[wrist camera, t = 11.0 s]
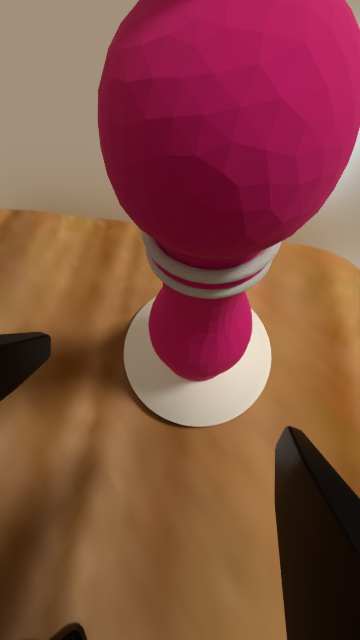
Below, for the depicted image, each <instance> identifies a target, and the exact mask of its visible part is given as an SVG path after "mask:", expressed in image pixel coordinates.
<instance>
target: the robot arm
mask: <svg viewBox="0 0 360 640" xmlns="http://www.w3.org/2000/svg"><path fill="white" fill-rule="evenodd" d="M50 353H51V337H50V336H49V335H47V334H45V333H42V332H29V333H15V334H2V335H0V401H1V400H3V399H4V398H5V397H6V396H8V395H9V394H10V393H11V392H13V391H14V390H15V389H16V388H17V387H19V386H20V385H21V384H22V383H23V382H24V381H25V380H26V379H27V378H28V377H29V376H31V375H32V374H33V373H34V372H35V371H36V370H37V369H38V368H39V367H40V366H41V365H42V364H43V363H45V362H46V361H47V360H48V358H49V357H50ZM275 513H276V524H277V534H278V545H279V556H280V567H281V578H282V589H283V600H284V611H285V622H286V632H287V640H360V499H359V497H358V496H357V495H356V494H355V493H354V491H353V490H352V489H351V488H350V487H349V486H348V484H347V483H346V482H345V481H344V480H343V479H342V477H341V476H340V475H339V474H338V473H337V472H336V470H335V469H334V468H333V467H332V466H331V465H330V463H329V462H328V461H327V460H326V459H325V458H324V456H323V455H322V454H321V453H320V452H319V450H318V449H317V448H316V447H315V446H314V445H313V443H312V442H311V441H310V440H309V439H308V438H307V436H306V435H305V434H304V433H303V432H302V431H301V430H299V429H297V428H294V427H291V426H287V427H286V428H285V429H284V431H283V433H282V435H281V437H280V438H279V440H278V442H277V445H276V449H275ZM73 636H75V637H76V638H77V640H87V638H86V635H85V632H84V629H83V628H82V626H80V625H75V626H73V627H72V628H71V629H69V630H68V631H67V632H66V633H65V634H64V635H63V636H61V637H60V638H59V639H58V640H72V637H73Z"/></svg>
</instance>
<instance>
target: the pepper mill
mask: <svg viewBox="0 0 360 640" xmlns="http://www.w3.org/2000/svg"><path fill="white" fill-rule="evenodd" d="M98 128H99V137H100V146H101V151H102V155H103V159H104V163H105V167H106V171H107V175H108V177H109V180H110V182H111V184H112V187H113V189H114V191H115V194H116V196H117V198H118V200H119V203H120V205H121V206H122V208H123V209H124V210H125V212H126V213H127V214H128V215H129V217H130V218H131V219H132V220H133V221H134V222H135V224H136V225H137V226H138V227H139V228H140V229H141V230H142V238H143V243H144V245H145V247H146V255H147V259H148V261H149V264H150V266H151V268H152V270H153V271H154V273H155V274H156V275H157V277H158V278H159V279H160V280H161V281H163V287H162V289H161V290H160V292H159V293H158V295H157V297H156V298H155V300H154V302H153V304H152V308H151V311H150V315H149V322H148V327H149V335H150V340H151V343H152V346H153V348H154V350H155V352H156V354H157V355H158V357H159V358H160V359H161V360H162V361H163V362H164V363H165V364H166V365H167V366H168V367H169V368H170V369H171V370H172V371H173V372H174V373H175V374H177V375H178V376H180V377H182V378H184V379H187V380H190V381H206V380H209V379H212V378H214V377H216V376H218V375H219V374H221V373H224V372H226V371H227V370H229V369H230V368H232V367H233V366H234V365H235V364H236V363H237V362H238V361H239V360H240V359H241V358H242V356H243V355H244V353H245V351H246V349H247V347H248V344H249V342H250V339H251V334H252V312H251V307H250V304H249V301H248V299H247V296H246V293H245V291H246V290H248V289H249V288H251V287H252V286H254V285H255V284H257V283H258V282H259V281H260V280H261V279H262V278H263V277H264V275H265V274H266V273H267V271H268V269H269V268H270V266H271V263H272V260H273V258H274V257H275V255H276V253H277V252H278V250H279V248H280V245H281V242H282V241H283V240H284V239H286V238H288V237H290V236H292V235H293V234H294V233H295V232H296V231H297V230H298V229H299V228H301V227H302V226H303V225H304V224H305V223H306V222H307V221H308V220H309V219H311V218H312V217H313V216H314V215H315V214H316V213H317V212H318V211H319V210H320V208H321V207H322V206H323V204H324V203H325V201H326V200H327V198H328V197H329V196H330V194H331V193H332V191H333V190H334V188H335V186H336V184H337V183H338V180H339V179H340V177H341V175H342V173H343V171H344V169H345V167H346V166H347V164H348V162H349V159H350V156H351V154H352V151H353V148H354V145H355V142H356V139H357V135H358V131H359V128H360V29H359V26H358V24H357V22H356V19H355V17H354V14H353V12H352V10H351V8H350V7H349V5H348V4H347V3H346V1H345V0H139V1H138V3H137V4H136V5H135V6H134V8H133V9H132V10H131V11H130V12H129V14H128V15H127V16H126V18H125V19H124V20H123V21H122V22H121V24H120V26H119V28H118V30H117V32H116V34H115V36H114V38H113V40H112V42H111V44H110V46H109V48H108V52H107V56H106V61H105V64H104V69H103V73H102V77H101V81H100V85H99V89H98Z"/></svg>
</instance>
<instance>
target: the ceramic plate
mask: <svg viewBox="0 0 360 640" xmlns="http://www.w3.org/2000/svg"><path fill="white" fill-rule="evenodd" d="M156 297H157V296H156ZM156 297H155V298H156ZM155 298H153V299H152V300H150V301H149V302H148V303H147V304H146V305H144V307H143V308H142V309H141V310H140V311H139V312H138V313H137V315H136V316H135V318H134V319H133V321H132V323H131V325H130V327H129V329H128V332H127V335H126V339H125V344H124V364H125V370H126V373H127V377H128V380H129V382H130V384H131V386H132V388H133V390H134V391H135V393H136V394H137V396H138V397H139V398H140V400H141V401H142V402H143V403H144V404H145V405H146V406H147V407H148V408H150V409H151V410H152V411H153V412H155V413H156V414H158V415H159V416H161V417H163V418H165V419H167V420H169V421H171V422H174V423H177V424H181V425H186V426H193V427H205V426H211V425H217V424H220V423H224V422H227V421H229V420H231V419H233V418H235V417H237V416H238V415H240V414H241V413H243V412H244V411H246V410H247V409H248V408H249V407H250V406H251V405H252V404H253V403H254V402H255V401H256V399H257V398H258V397H259V396H260V394H261V392H262V390H263V389H264V387H265V385H266V382H267V379H268V376H269V372H270V368H271V348H270V343H269V339H268V336H267V333H266V330H265V328H264V326H263V324H262V322H261V321H260V319H259V318H258V316H257V315H256V314H255V312H254V311H253V310H252V309H251V312H252V334H251V339H250V342H249V344H248V347H247V349H246V351H245V353H244V355H243V356H242V358H241V359H240V360H239V361H238V362H237V363H236V364H235V365H234V366H233V367H232V368H230V369H229V370H227V371H226V372H224V373H221V374H219V375H218V376H216V377H214V378H212V379H209V380H206V381H190V380H187V379H184V378H182V377H180V376H178V375H177V374H175V373H174V372H173V371H172V370H171V369H170V368H169V367H168V366H167V365H166V364H165V363H164V362H163V361H162V360H161V359H160V358H159V357H158V355H157V354H156V352H155V350H154V348H153V346H152V343H151V340H150V335H149V327H148V322H149V315H150V311H151V308H152V304H153V302H154V300H155Z"/></svg>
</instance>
